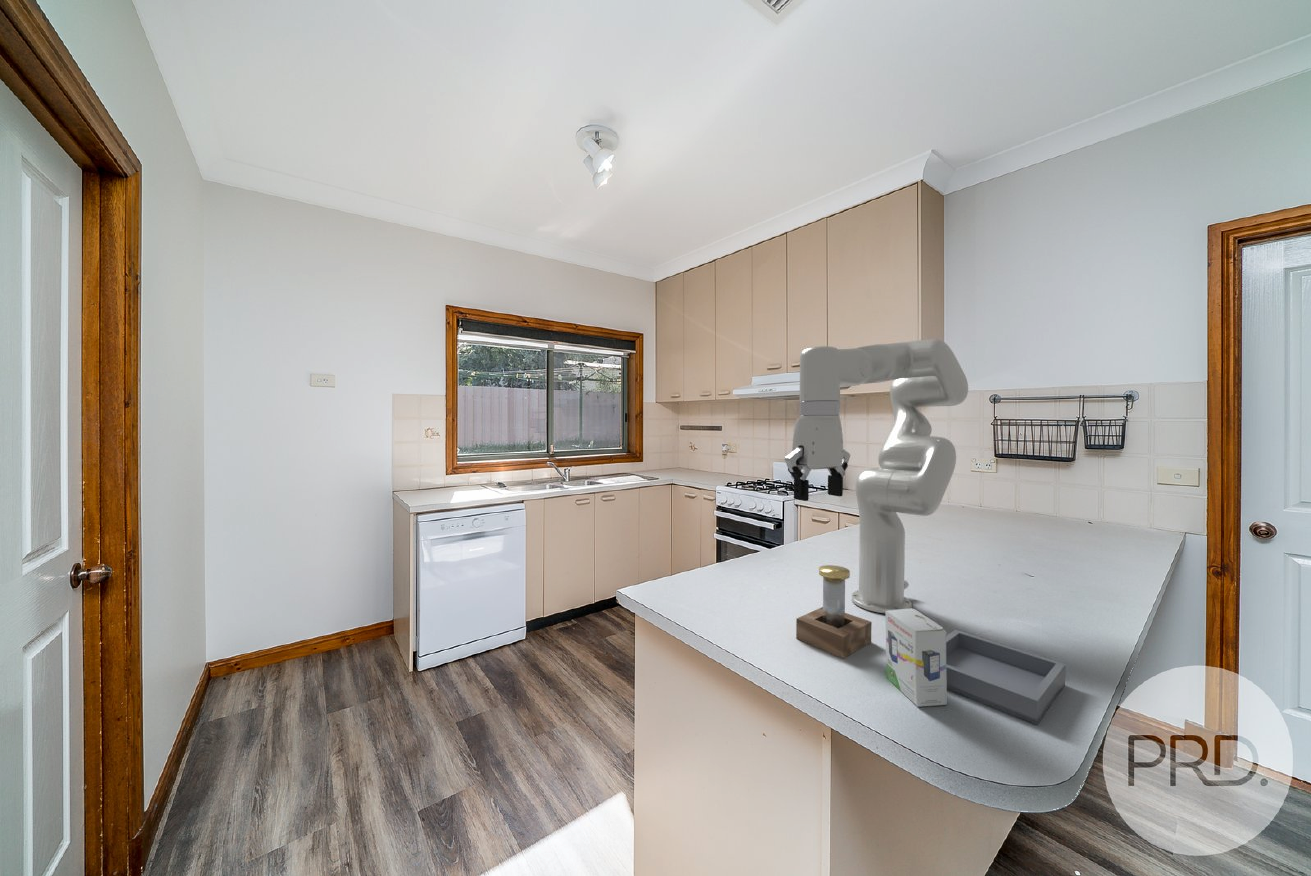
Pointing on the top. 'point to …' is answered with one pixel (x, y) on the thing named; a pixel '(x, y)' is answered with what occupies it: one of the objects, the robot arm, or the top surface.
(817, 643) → the block
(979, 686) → the tray
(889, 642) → the ink box
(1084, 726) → the top surface
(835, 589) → the steel pin
